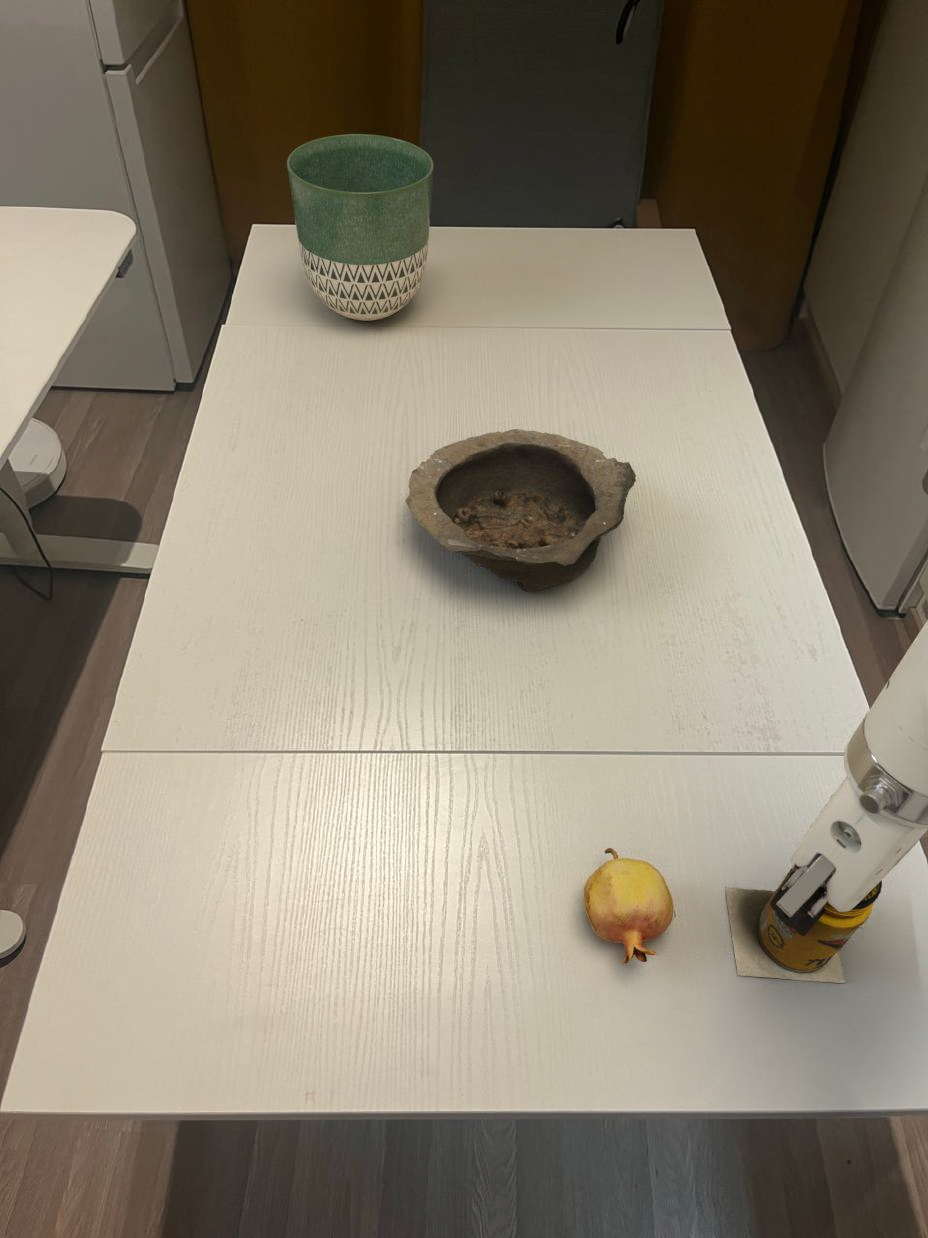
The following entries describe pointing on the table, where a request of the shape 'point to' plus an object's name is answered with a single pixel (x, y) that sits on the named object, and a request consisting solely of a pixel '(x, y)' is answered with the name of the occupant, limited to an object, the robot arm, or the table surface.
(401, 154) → the planter
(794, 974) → the condiment
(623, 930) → the fruit
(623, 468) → the stone bowl
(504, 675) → the table surface
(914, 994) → the table surface
